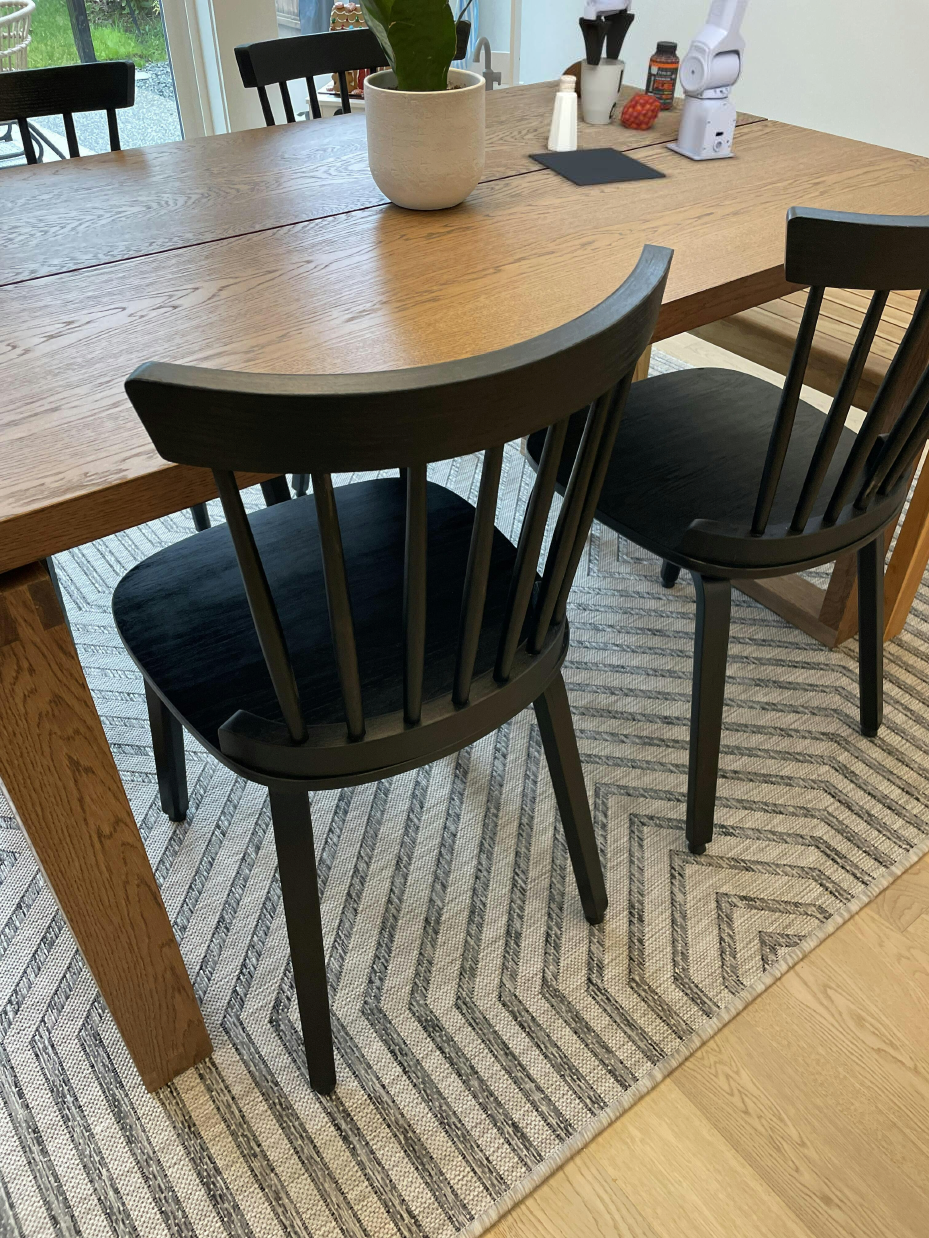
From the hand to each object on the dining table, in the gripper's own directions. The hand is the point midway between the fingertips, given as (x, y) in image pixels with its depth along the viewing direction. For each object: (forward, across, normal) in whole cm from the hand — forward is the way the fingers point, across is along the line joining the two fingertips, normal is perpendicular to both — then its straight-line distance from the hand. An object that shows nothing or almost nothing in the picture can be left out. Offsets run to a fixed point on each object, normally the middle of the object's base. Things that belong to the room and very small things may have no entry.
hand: (602, 62), depth 169 cm
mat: (+10, +27, +14) cm, 32 cm away
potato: (+10, -19, -12) cm, 25 cm away
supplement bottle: (+10, -21, +3) cm, 23 cm away
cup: (+10, -2, -1) cm, 11 cm away
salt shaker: (+10, +20, +4) cm, 23 cm away
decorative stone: (+10, -2, +8) cm, 13 cm away
